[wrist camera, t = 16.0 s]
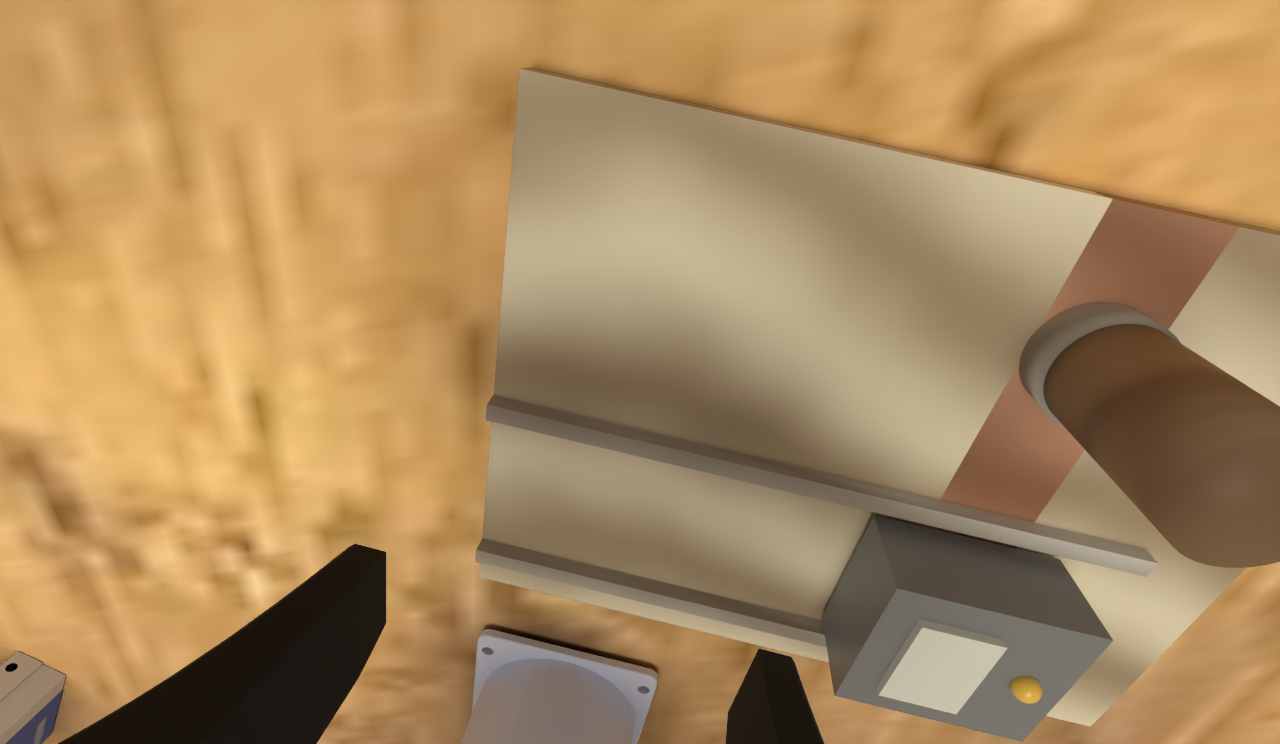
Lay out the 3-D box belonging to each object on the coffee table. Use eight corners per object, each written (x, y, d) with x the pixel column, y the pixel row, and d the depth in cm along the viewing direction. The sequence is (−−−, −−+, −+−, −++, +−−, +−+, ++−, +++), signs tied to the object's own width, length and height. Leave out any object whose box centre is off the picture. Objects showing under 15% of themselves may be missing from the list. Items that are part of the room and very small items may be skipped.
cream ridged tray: (1076, 701, 23) (1099, 742, 22) (488, 557, 24) (473, 589, 23) (1472, 274, 15) (1551, 297, 13) (531, 67, 15) (511, 69, 14)
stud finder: (986, 657, 21) (1029, 758, 18) (821, 616, 21) (836, 710, 18) (1060, 559, 19) (1124, 657, 16) (873, 514, 19) (901, 603, 16)
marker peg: (1132, 408, 16) (1323, 576, 11) (1007, 408, 17) (1133, 567, 12) (1172, 300, 15) (1414, 433, 10) (1033, 302, 15) (1191, 430, 10)
